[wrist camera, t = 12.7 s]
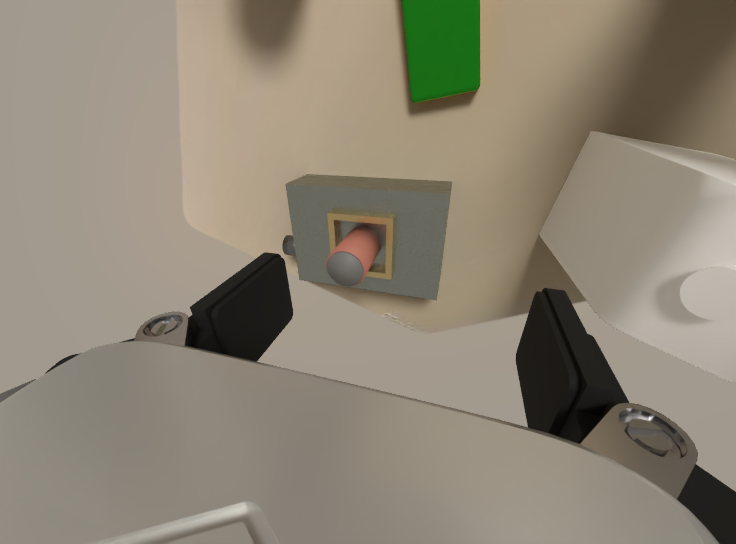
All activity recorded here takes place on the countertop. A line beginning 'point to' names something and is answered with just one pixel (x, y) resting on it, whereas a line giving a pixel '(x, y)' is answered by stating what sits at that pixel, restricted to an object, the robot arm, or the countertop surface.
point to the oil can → (353, 256)
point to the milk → (653, 245)
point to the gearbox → (382, 215)
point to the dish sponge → (442, 47)
